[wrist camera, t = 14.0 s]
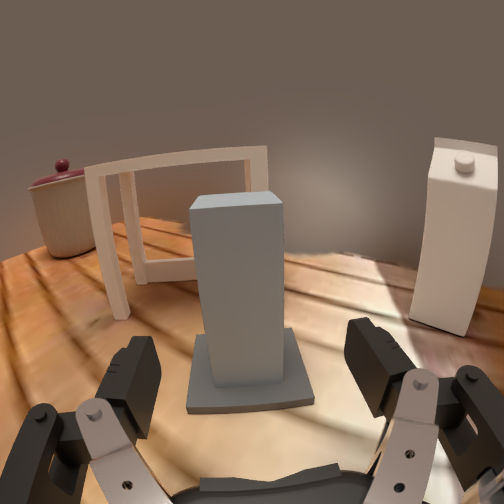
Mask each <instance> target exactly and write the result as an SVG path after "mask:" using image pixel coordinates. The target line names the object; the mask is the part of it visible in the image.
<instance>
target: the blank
mask: <svg viewBox="0 0 504 504" xmlns="http://www.w3.org/2000/svg"><path fill="white" fill-rule="evenodd" d="M189 214H190V224H191V234H192V242H193V251H194V259H195V267H196V275H197V282H198V289H199V296H200V303H201V310H202V316H203V323H204V329H205V335H206V341H207V347H208V352H209V358H210V363H211V369H212V374H213V379H214V385H215V387H236V386H250V385H262V384H272V383H282V382H283V348H284V227H283V226H284V222H283V203H282V202H281V201H280V200H279V199H278V198H277V197H276V196H275V195H274V194H273V193H272V192H271V191H264V192H245V193H230V194H216V195H203V196H199V197H198V198H197V199H196V201H195V202H194V203H193V205H192V206H191V207H190V209H189Z"/></svg>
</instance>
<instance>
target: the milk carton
mask: <svg viewBox="0 0 504 504" xmlns="http://www.w3.org/2000/svg"><path fill="white" fill-rule="evenodd" d="M497 172H498V165H497V146H493V145H487V144H482V143H475V142H469V141H462V140H454V139H446V138H436V137H435V149H434V153H433V158H432V162H431V166H430V170H429V174H428V193H427V206H426V217H425V218H426V219H425V227H424V236H423V243H422V251H421V257H420V263H419V269H418V275H417V280H416V285H415V290H414V295H413V300H412V304H411V309H410V313H409V318H410V319H413V320H416V321H419V322H422V323H424V324H427V325H430V326H433V327H436V328H439V329H442V330H445V331H448V332H451V333H454V334H457V335H460V336H463V337H464V336H465V335H466V332H467V329H468V327H469V324H470V321H471V318H472V315H473V312H474V309H475V305H476V302H477V299H478V295H479V292H480V288H481V284H482V281H483V277H484V272H485V268H486V263H487V259H488V254H489V249H490V244H491V238H492V232H493V224H494V218H495V210H496V199H497V185H498V184H497V181H498V173H497Z"/></svg>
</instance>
